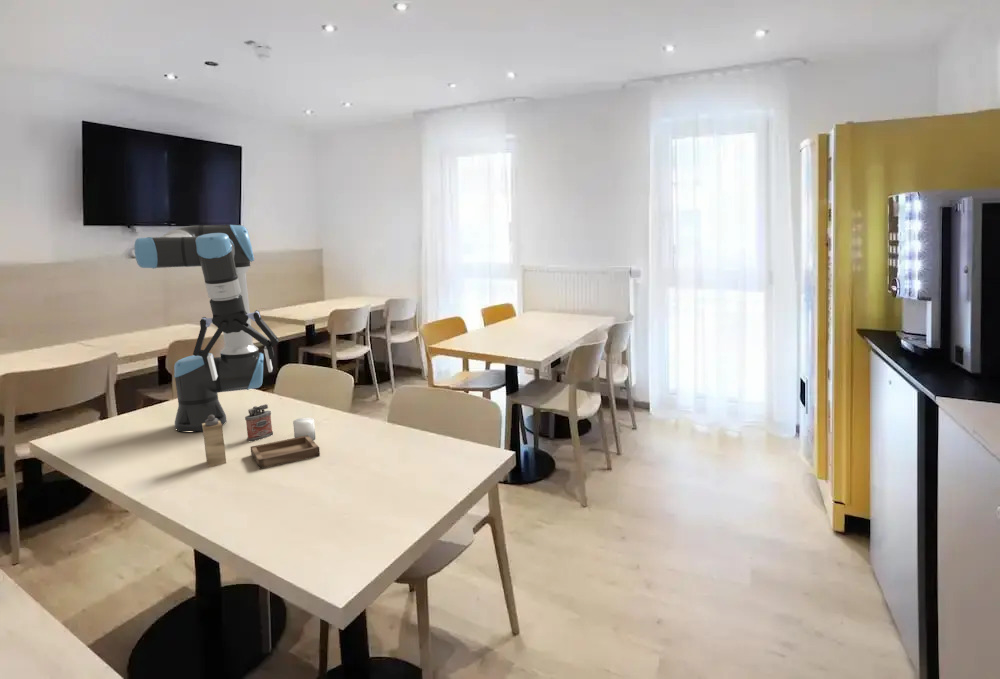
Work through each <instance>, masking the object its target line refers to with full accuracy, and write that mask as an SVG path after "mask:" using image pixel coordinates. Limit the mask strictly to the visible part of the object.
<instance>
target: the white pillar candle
mask: <svg viewBox="0 0 1000 679" xmlns="http://www.w3.org/2000/svg"><path fill="white" fill-rule="evenodd" d="M292 426H293V433H294V434H293V438H297V437H302V436H307V435H308V436H309V437H310V438H311V439H312V440H313V441H315V440H316V428H315V419H314V418H313V417H300V418H297V419H294V420H293V421H292Z"/></svg>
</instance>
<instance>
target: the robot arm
mask: <svg viewBox="0 0 1000 679" xmlns="http://www.w3.org/2000/svg"><path fill="white" fill-rule="evenodd" d="M134 256H135V260H136V264H137V265H138V267H140V268H142V269H162V268H163V269H164V268H181V267H182V268H184V267H185V268H189V267H192V268H195V267H201V271H202V275H203V278H204V285H205V288H206V292H207V296H208V298H209V304H210V309H211V313H212V317H206V316H202V317H201V319H200V320H199V326H200V327H199V328H200V329H199V333H198V336H197V338H196V339H197V340H196V343H195V345H194V349H193V353H192V355H189V356H185V357H183V358H180V359H178V360H177V361H176V362H175V363H174V366H173V369H174V375H173V377H174V379H175V387H176V395H177V396H176V397H177V402H178V404H177V405H178V406H177V411H176V416H175V419H174V428H175V429H177V430H179V431H201V432H203V427H202V424H203V423H205V420H207V419H208V416H209V415H214V416H215V418H217V419H218V421H220V422H221V424H222V426H224V425H225V424H226V423H227V415H226V412H225V410H224V408H223V407H222V405H221V403H220V400H219V394H218V393H226V392H227V393H228V392H235V391H245V390H246V391H249V390H253V389H259V388H260V387H262V384H263V379H264V360H265V361H266V367H267V370H268V373H273V368H274V367H273V364H272V360H274V357H275V352H274V346H277V345H279V341H280V340H279V337H278V336H277V335H276V334H275V332H274V331H273V330H272V329H271V328H270V326H269V325H268V324H267V323H266V322H265V321H264V319H263V318H262V316H261V313H260V311H259V310H257V309H256V310H254V312H251V311H250V301H249V290H248V280H247V271H248V270H249V269H250V268H251V263H252V262H254V261H255V255H254V252H253V247H252V242H251V238H250V234H249V231H248V229H247V228H246V226H244V225H237V224H218V225H217V224H216V225H215V224H213V225H208V224H207V225H206V224H205V225H189V226H188V225H187V226H184V227H178V228H175V229H172V230H169V231H167V232H166V233H165V234H164V235H163V236H160V237H159V236H158V237H157V236H156V237H152V236H147V237H139V238H136V239H135V240H134ZM252 322H255V323H256V325H257V326H258V327H259V329H261V331H262V332H263V333H264V334H262V333H260V332H259V331H258V330H256V329H255V328H254V327H253V326H252ZM211 324H213V325H214V326H215V327H216V328H217V329H216V331H215V332H214V334H213V335H212V337H211V339H210V340H209V342H208V343H207V345H206V346H205V348H204V349H202V347H203V343H204V340H205V336H206V334H207V330H208V328H209V327H210V326H211ZM222 333H223V342H224V346H223V347H222V349H221V350H220V351H219V352H220V353H219V354H220V356H218V357H215V356H214V354H213V352H211V350H212V349H213V347H214V345H215V344H216V342H217V341H218V340H219V338H220V336H221V335H222ZM264 335H265V336H264ZM253 338H254V339H255V340H256V341H257V342H259V343H260V344H262V345H263V346H264V348H263V351H264V353H262V352H259V347H258V346H256V345H255V344H254V342H253ZM264 356H265V358H264ZM225 422H226V423H225ZM224 423H225V424H224ZM223 424H224V425H223ZM179 431H178V432H179Z"/></svg>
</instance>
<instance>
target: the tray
mask: <svg viewBox="0 0 1000 679" xmlns="http://www.w3.org/2000/svg"><path fill="white" fill-rule="evenodd" d="M320 455H321V453H320V447H319V445H318V444H317V443H316V442H315V440H312V439H311V438H310V437H309V436H308V435H307V436H302V437H297V438H295V437H293V438H288V439H283V440H277V441H273V442H268V443H262V444H257V445H252V446H250V456H251V457H252V459H253V460H254V462H255V464H256V466H257V468H258V469H259V470H261V469H266V468H270V467H276V466H280V465H285V464H289V463H293V462H297V461H298V462H299V461H302V460H307V459H312V458H316V457H320Z"/></svg>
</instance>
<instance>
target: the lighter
mask: <svg viewBox="0 0 1000 679" xmlns="http://www.w3.org/2000/svg"><path fill="white" fill-rule="evenodd" d="M267 409H269V404H267V403H266V404H265V403H264V404H261V405H259V406H258V405H255V406H253V407H252V408H248V409H247V410H248V411H247V412H248V415H246V416H245V417H244V420H245V421H246V422H245V423H246V432H247V434H246V435H247V439H246V440H247V442H249V441H252V442H256V441H259V439H260V440H264V439H267V438H269V437H271V435H272V436H273V434H274V431H273V427H272V426H273V424H272V412H271V410H267ZM263 438H264V439H263ZM255 440H256V441H255Z"/></svg>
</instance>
